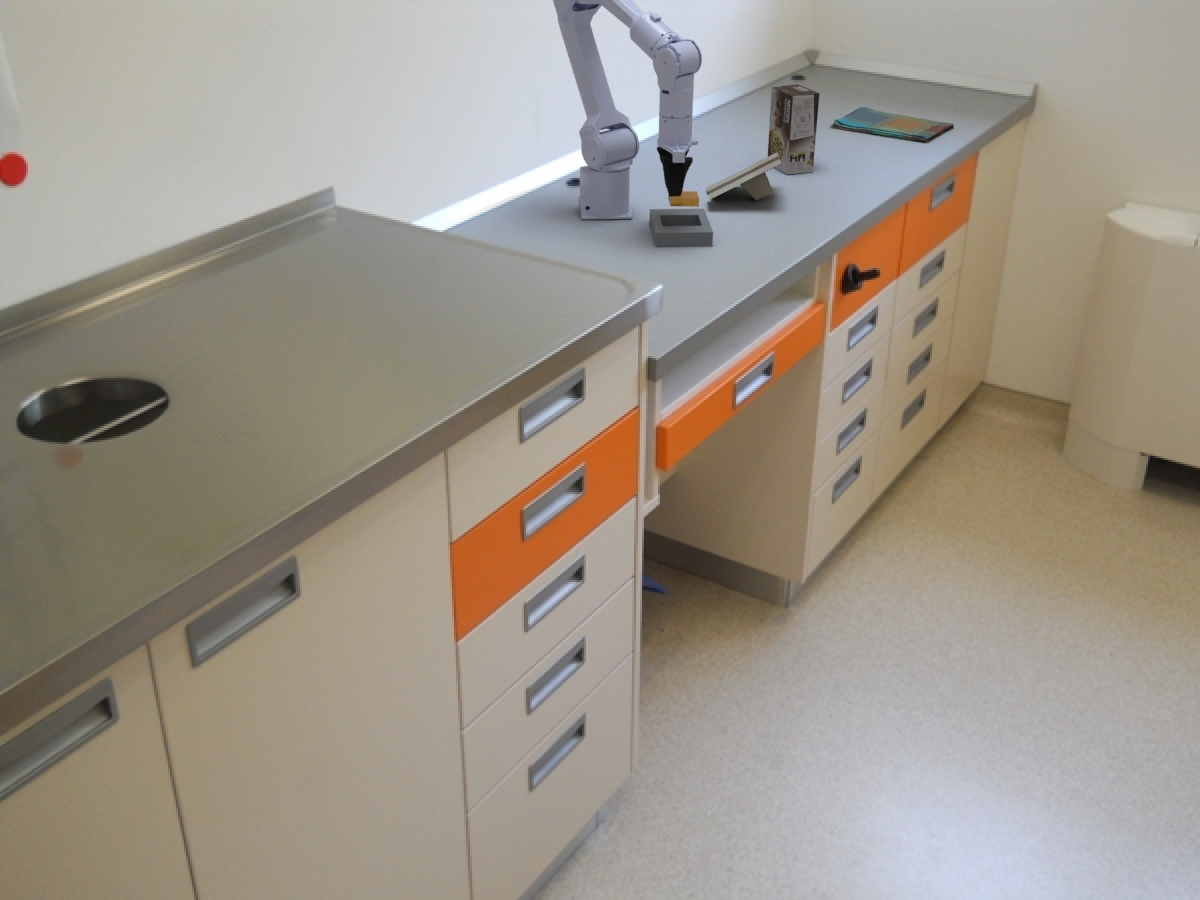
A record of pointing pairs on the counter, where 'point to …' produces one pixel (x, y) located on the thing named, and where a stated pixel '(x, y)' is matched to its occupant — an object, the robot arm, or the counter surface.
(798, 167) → the coffee box
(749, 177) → the beige footed plank
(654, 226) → the well block
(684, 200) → the wooden step block
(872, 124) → the dish towel
